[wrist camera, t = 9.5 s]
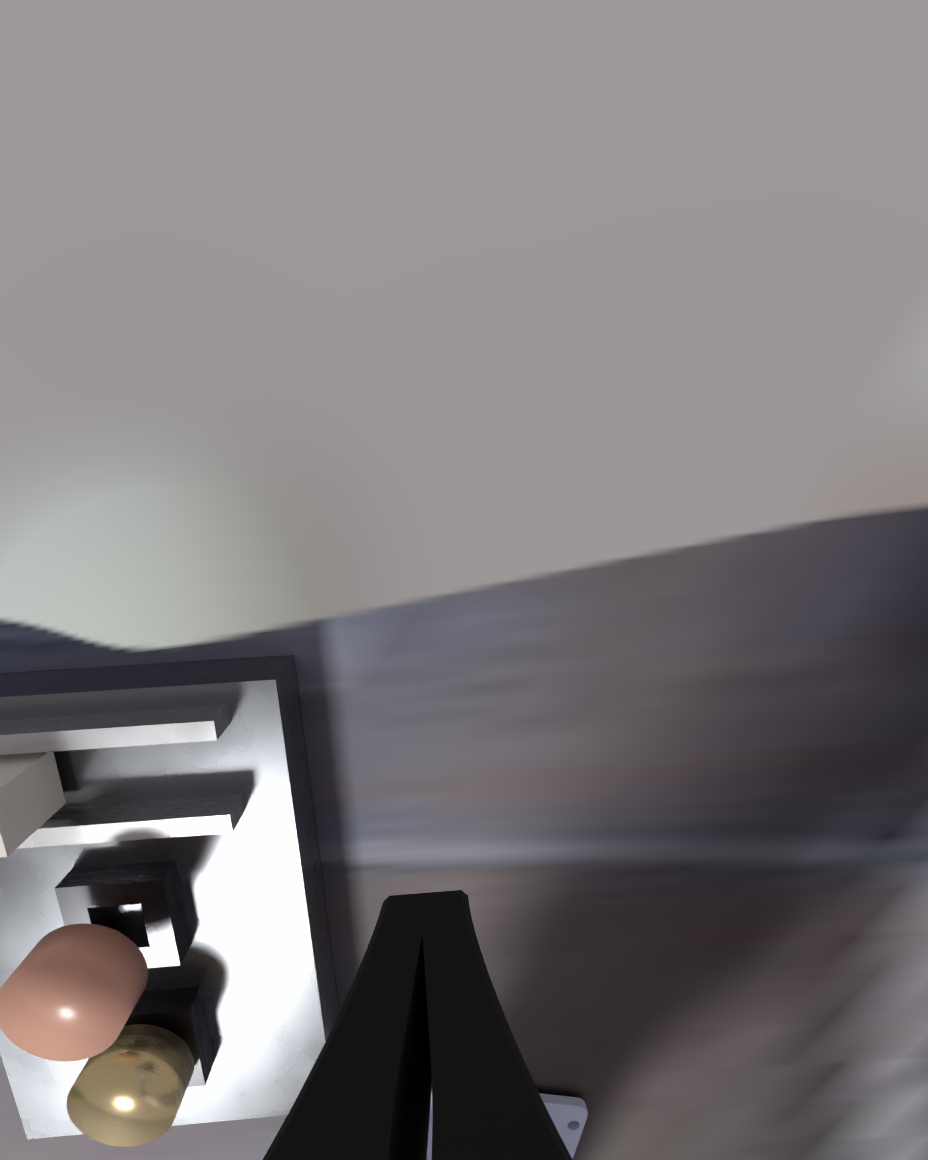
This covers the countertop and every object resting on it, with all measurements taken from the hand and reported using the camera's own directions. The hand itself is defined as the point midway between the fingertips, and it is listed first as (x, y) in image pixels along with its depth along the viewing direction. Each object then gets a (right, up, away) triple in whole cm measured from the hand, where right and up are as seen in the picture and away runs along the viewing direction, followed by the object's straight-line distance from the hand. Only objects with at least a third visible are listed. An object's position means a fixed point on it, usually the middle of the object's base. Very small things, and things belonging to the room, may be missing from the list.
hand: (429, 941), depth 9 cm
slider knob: (-12, 0, +7) cm, 14 cm away
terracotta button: (-10, -5, +7) cm, 13 cm away
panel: (-10, -5, +10) cm, 15 cm away
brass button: (-10, -9, +9) cm, 16 cm away
